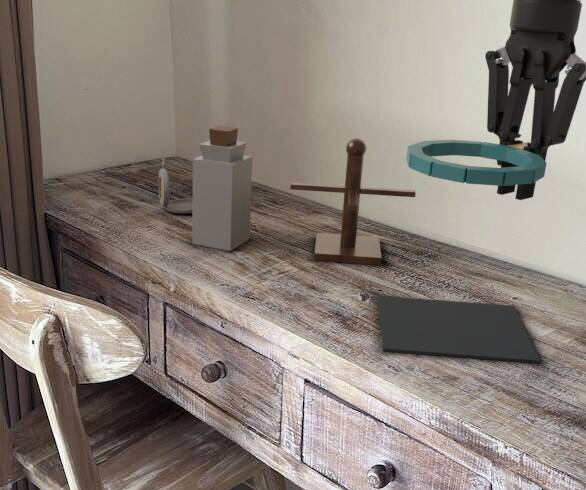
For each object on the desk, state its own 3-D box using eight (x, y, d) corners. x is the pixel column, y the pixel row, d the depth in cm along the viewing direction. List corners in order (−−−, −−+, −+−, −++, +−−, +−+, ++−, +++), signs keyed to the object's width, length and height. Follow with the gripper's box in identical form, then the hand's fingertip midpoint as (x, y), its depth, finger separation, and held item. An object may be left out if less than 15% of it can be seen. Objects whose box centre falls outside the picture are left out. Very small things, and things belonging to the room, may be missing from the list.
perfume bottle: (212, 231, 134) (214, 122, 127) (249, 238, 131) (253, 127, 124) (192, 243, 128) (193, 129, 121) (230, 251, 125) (233, 134, 119)
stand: (403, 237, 135) (415, 129, 128) (412, 278, 117) (427, 156, 111) (290, 229, 136) (296, 122, 130) (283, 268, 119) (289, 148, 112)
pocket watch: (210, 210, 145) (211, 155, 141) (175, 220, 139) (175, 162, 135) (178, 200, 150) (178, 147, 146) (143, 209, 144) (142, 153, 140)
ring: (536, 155, 102) (539, 142, 101) (571, 190, 86) (574, 176, 86) (402, 146, 103) (403, 133, 103) (412, 180, 88) (414, 165, 87)
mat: (513, 308, 108) (513, 305, 108) (540, 363, 94) (540, 360, 93) (377, 298, 110) (377, 295, 110) (382, 351, 95) (383, 348, 95)
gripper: (473, -9, 96) (447, 185, 105) (592, 0, 85) (551, 215, 94) (511, -8, 100) (482, 177, 109) (628, 0, 90) (586, 205, 98)
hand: (514, 194), depth 102 cm, fingers closed on ring, 2 cm apart
